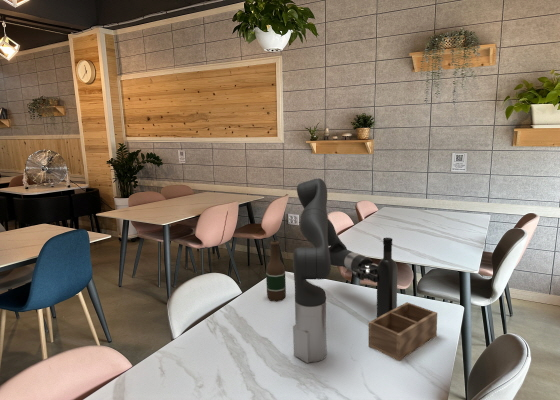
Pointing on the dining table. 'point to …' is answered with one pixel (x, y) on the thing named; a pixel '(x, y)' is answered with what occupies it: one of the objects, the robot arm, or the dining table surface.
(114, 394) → the dining table surface
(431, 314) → the bottle rack
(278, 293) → the beer bottle
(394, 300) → the wine bottle
